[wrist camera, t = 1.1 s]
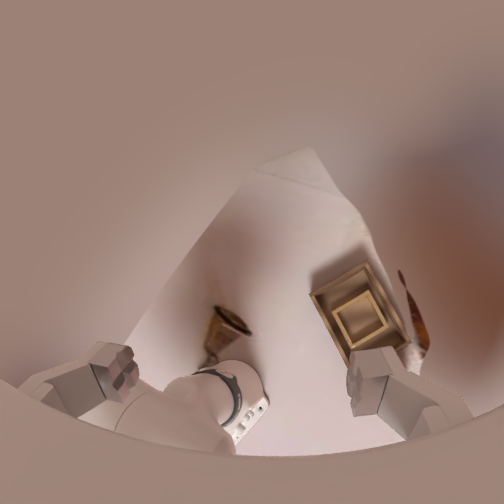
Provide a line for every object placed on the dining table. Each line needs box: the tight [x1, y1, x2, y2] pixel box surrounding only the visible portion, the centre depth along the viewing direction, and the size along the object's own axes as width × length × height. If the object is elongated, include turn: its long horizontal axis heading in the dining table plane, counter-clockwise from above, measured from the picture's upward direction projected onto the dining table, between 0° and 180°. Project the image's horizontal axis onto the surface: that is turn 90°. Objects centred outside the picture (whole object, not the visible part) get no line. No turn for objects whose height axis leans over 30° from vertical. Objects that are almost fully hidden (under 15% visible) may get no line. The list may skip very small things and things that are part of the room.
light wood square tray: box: [332, 290, 389, 349], centre depth 54 cm, size 9×9×2 cm
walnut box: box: [309, 261, 412, 369], centre depth 53 cm, size 20×14×5 cm
